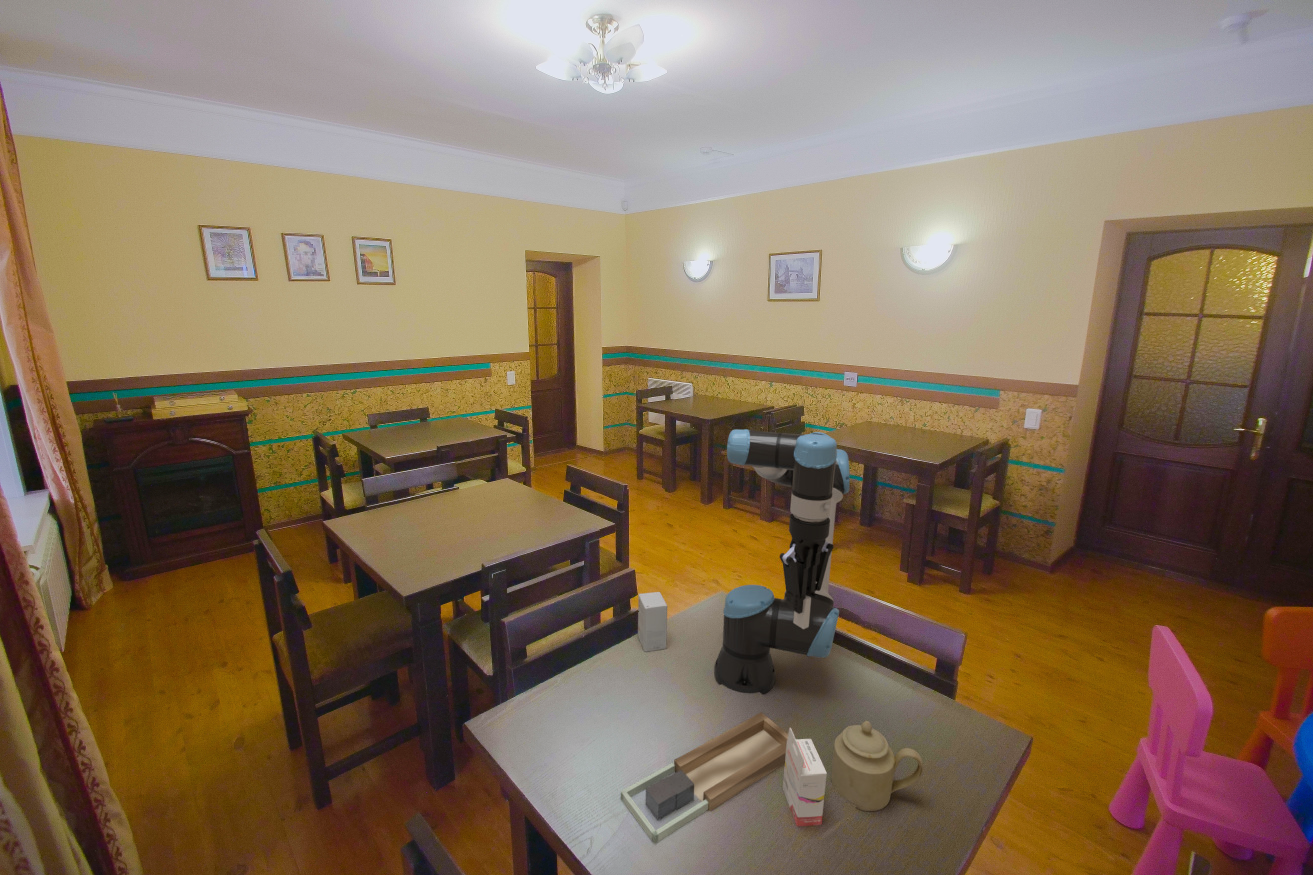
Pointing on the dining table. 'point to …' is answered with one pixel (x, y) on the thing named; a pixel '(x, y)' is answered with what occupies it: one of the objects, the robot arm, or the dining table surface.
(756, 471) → the robot arm
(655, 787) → the chip
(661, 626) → the small box
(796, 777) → the ink cartridge box
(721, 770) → the slot board
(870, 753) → the sugar bowl
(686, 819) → the tray
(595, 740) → the dining table surface
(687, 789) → the chip
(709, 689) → the dining table surface
